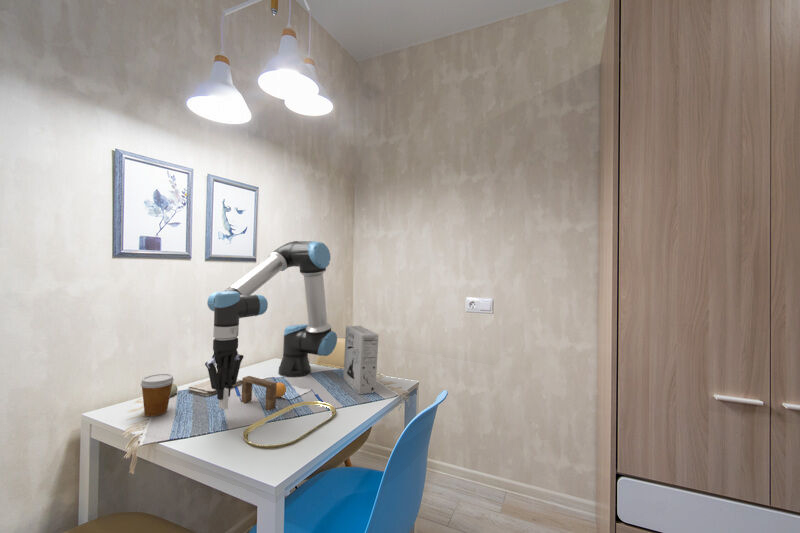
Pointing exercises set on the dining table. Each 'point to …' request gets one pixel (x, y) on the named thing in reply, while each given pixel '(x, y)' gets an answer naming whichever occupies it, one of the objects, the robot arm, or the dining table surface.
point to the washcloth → (207, 388)
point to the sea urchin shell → (173, 389)
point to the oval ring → (282, 413)
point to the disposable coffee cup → (156, 393)
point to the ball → (280, 389)
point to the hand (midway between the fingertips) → (223, 407)
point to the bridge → (269, 385)
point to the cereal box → (360, 359)
